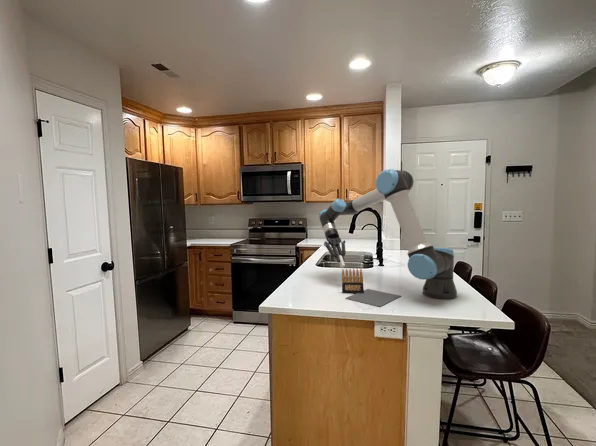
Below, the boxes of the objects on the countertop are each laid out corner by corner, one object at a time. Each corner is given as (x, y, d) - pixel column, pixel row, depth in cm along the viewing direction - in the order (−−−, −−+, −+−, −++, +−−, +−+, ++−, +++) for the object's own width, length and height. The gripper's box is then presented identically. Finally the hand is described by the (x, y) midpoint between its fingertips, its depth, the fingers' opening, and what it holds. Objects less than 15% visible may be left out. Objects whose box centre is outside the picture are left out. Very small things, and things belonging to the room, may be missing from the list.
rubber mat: (400, 296, 149) (401, 295, 149) (380, 307, 134) (380, 306, 134) (367, 289, 161) (367, 288, 161) (345, 298, 147) (345, 297, 147)
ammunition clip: (363, 292, 155) (362, 268, 155) (363, 292, 153) (362, 268, 153) (342, 291, 158) (341, 268, 157) (342, 292, 156) (340, 269, 155)
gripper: (339, 236, 185) (352, 269, 170) (318, 237, 181) (329, 271, 166) (343, 228, 179) (356, 262, 164) (322, 228, 176) (333, 263, 161)
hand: (343, 266), depth 165 cm, fingers closed
